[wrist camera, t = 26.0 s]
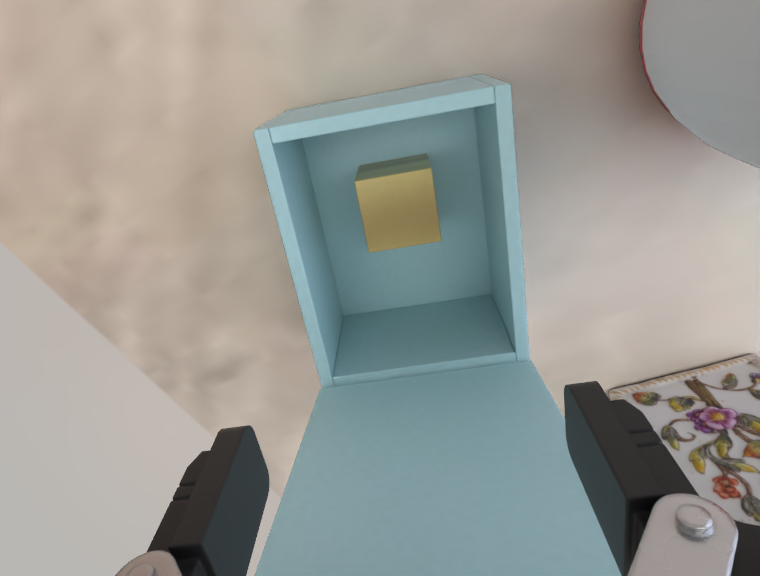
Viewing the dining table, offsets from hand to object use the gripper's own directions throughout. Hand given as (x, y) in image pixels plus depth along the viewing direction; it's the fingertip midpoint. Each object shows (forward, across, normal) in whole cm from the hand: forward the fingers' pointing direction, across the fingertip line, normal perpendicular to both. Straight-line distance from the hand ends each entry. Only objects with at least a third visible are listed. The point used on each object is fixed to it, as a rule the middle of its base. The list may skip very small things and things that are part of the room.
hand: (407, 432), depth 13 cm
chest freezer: (+25, 0, +2) cm, 25 cm away
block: (+24, 0, 0) cm, 24 cm away
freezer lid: (+7, 0, +8) cm, 10 cm away
